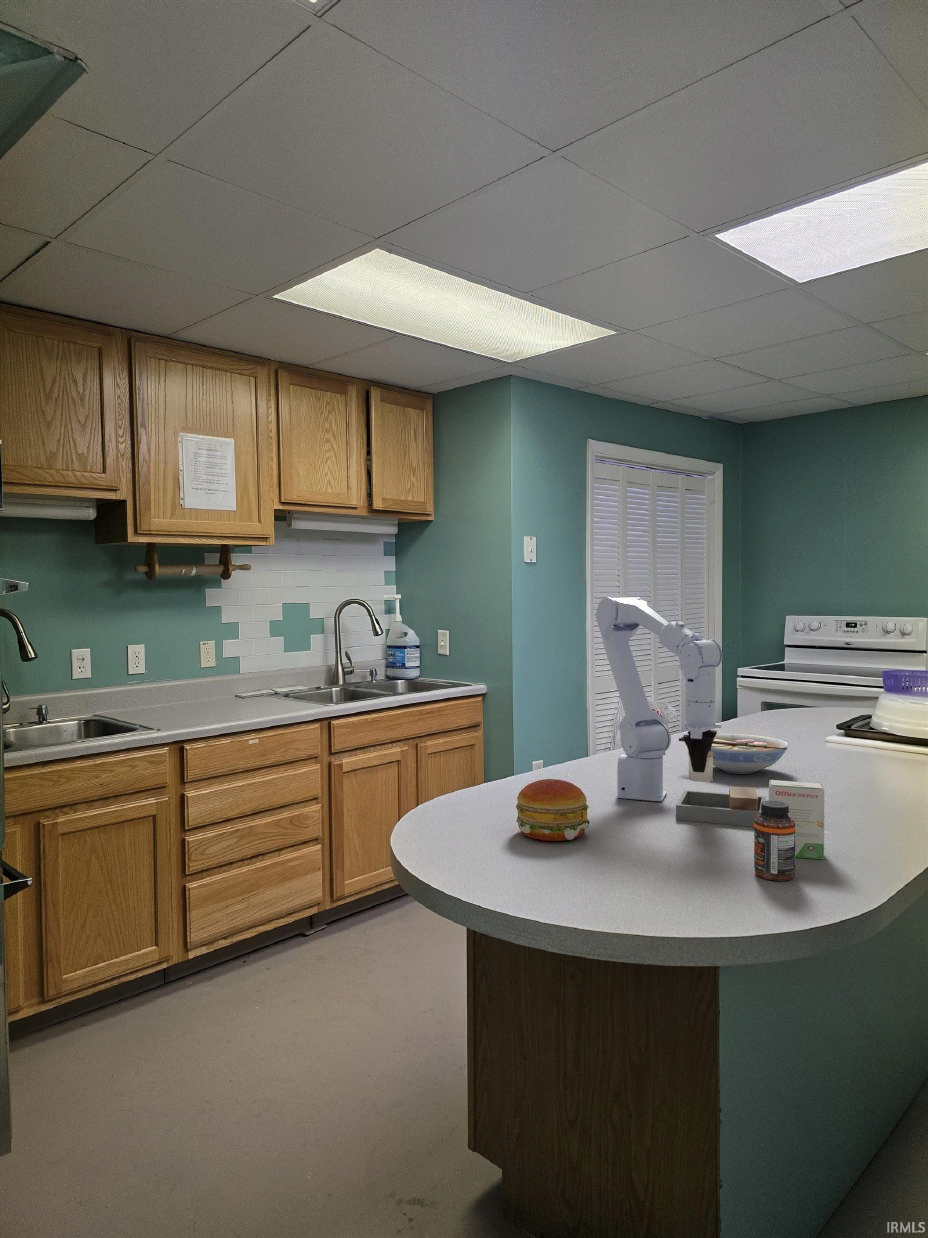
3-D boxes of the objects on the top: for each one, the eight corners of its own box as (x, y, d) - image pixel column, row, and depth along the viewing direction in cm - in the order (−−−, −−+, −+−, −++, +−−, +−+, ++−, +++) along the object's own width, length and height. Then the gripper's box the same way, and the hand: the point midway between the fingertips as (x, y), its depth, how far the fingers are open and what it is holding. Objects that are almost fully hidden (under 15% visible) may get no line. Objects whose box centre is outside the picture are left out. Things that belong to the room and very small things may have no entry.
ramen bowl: (801, 768, 204) (801, 735, 204) (782, 786, 185) (782, 750, 185) (701, 758, 217) (701, 727, 217) (674, 774, 198) (674, 740, 198)
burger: (502, 829, 152) (502, 776, 152) (566, 821, 158) (565, 769, 157) (537, 850, 140) (537, 792, 140) (604, 840, 145) (604, 784, 145)
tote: (675, 819, 158) (675, 805, 158) (684, 803, 170) (684, 790, 170) (763, 827, 152) (763, 812, 152) (766, 810, 164) (766, 796, 164)
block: (730, 823, 156) (730, 797, 156) (729, 811, 165) (729, 786, 164) (758, 825, 155) (758, 798, 154) (755, 813, 163) (755, 788, 163)
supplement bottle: (747, 870, 129) (747, 798, 128) (783, 868, 129) (784, 797, 129) (764, 883, 123) (764, 808, 123) (802, 882, 123) (802, 807, 123)
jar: (686, 780, 161) (686, 753, 161) (689, 776, 165) (689, 749, 165) (711, 782, 159) (711, 754, 159) (714, 778, 163) (714, 750, 163)
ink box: (768, 855, 136) (768, 785, 136) (767, 846, 141) (767, 778, 141) (824, 860, 133) (825, 788, 133) (821, 851, 138) (822, 781, 138)
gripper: (718, 706, 153) (717, 778, 154) (724, 697, 167) (724, 763, 167) (679, 704, 156) (679, 775, 156) (689, 695, 169) (689, 761, 170)
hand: (700, 769), depth 162 cm, fingers closed on jar, 5 cm apart
